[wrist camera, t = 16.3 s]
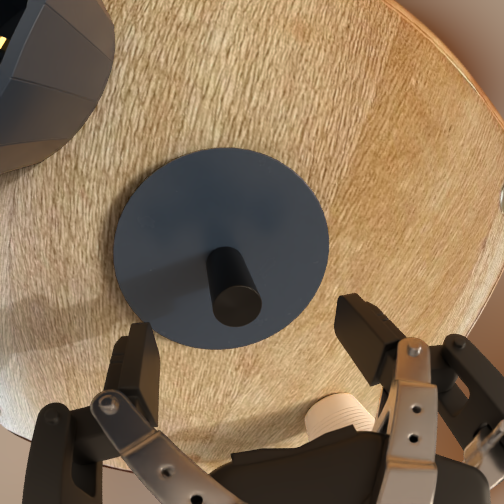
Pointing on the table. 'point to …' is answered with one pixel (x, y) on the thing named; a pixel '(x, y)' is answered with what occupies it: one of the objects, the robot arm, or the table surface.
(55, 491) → the robot arm
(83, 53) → the pot
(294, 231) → the lid
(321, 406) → the cup
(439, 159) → the table surface
